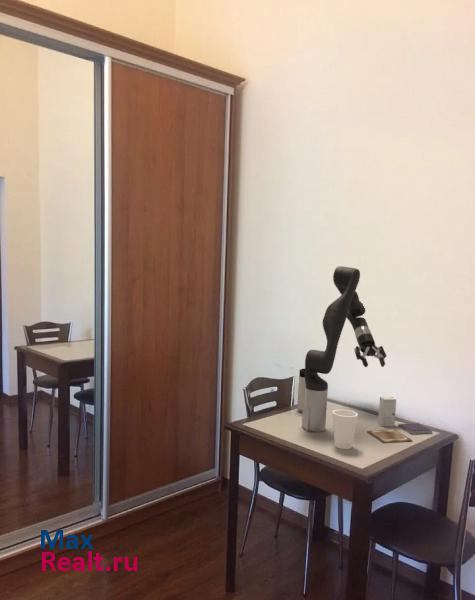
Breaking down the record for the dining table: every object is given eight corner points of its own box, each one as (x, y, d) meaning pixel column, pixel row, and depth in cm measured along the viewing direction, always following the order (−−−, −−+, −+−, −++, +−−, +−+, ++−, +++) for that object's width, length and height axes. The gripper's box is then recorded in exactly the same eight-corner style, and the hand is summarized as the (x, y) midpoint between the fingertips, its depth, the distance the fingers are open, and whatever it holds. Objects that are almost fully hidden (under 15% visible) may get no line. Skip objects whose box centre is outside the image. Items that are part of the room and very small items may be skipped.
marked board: (383, 443, 202) (383, 441, 202) (366, 432, 214) (367, 430, 214) (412, 441, 205) (412, 439, 205) (394, 430, 218) (394, 429, 218)
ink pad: (411, 434, 213) (411, 431, 213) (398, 426, 223) (398, 423, 223) (432, 433, 216) (432, 430, 216) (418, 425, 226) (418, 422, 226)
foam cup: (355, 443, 200) (357, 410, 199) (355, 451, 191) (357, 418, 190) (331, 440, 202) (333, 408, 201) (330, 448, 193) (331, 415, 192)
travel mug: (312, 410, 242) (314, 368, 241) (308, 413, 236) (310, 371, 235) (300, 408, 245) (302, 367, 243) (295, 411, 239) (297, 369, 237)
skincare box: (381, 426, 222) (383, 399, 221) (377, 423, 227) (379, 396, 226) (395, 426, 223) (396, 399, 222) (390, 423, 228) (392, 396, 227)
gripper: (353, 332, 241) (364, 361, 230) (380, 332, 244) (392, 361, 234) (348, 342, 246) (358, 370, 236) (374, 341, 250) (385, 370, 240)
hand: (375, 366), depth 235 cm, fingers open, 8 cm apart
